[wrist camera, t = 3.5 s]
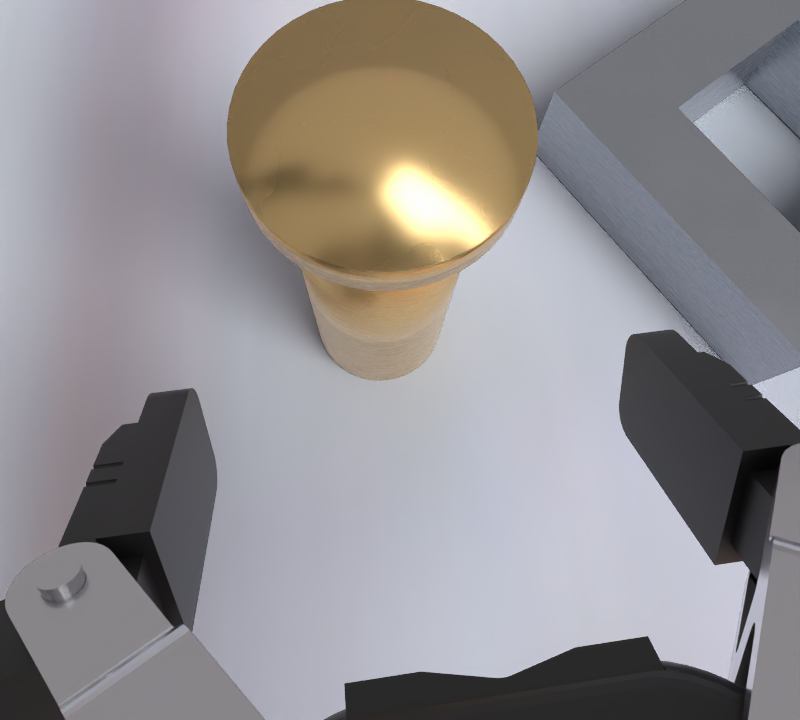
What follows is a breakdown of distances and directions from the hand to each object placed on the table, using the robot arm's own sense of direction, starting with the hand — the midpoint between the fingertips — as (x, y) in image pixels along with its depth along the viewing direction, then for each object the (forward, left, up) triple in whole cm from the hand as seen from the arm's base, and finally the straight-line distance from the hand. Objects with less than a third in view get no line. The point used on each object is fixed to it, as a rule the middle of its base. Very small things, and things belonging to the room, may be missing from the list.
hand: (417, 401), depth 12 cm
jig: (0, +18, -11) cm, 21 cm away
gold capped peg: (-4, +3, -11) cm, 12 cm away
